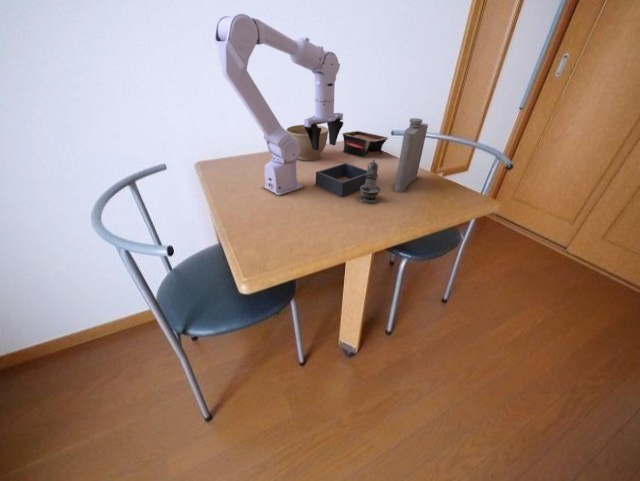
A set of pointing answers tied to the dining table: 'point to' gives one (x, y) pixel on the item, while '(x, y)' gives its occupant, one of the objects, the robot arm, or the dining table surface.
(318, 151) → the planter bowl
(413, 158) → the hip flask
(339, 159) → the dining table surface
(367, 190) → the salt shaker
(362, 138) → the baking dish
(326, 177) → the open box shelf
